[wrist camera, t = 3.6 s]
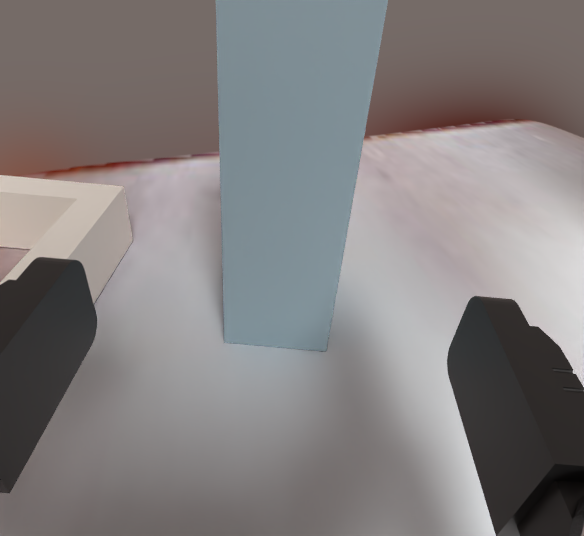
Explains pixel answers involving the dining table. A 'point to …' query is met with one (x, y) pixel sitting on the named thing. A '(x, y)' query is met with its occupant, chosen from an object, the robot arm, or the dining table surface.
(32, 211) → the end cap
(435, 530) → the dining table surface
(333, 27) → the blue-grey rectangular block
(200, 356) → the dining table surface
